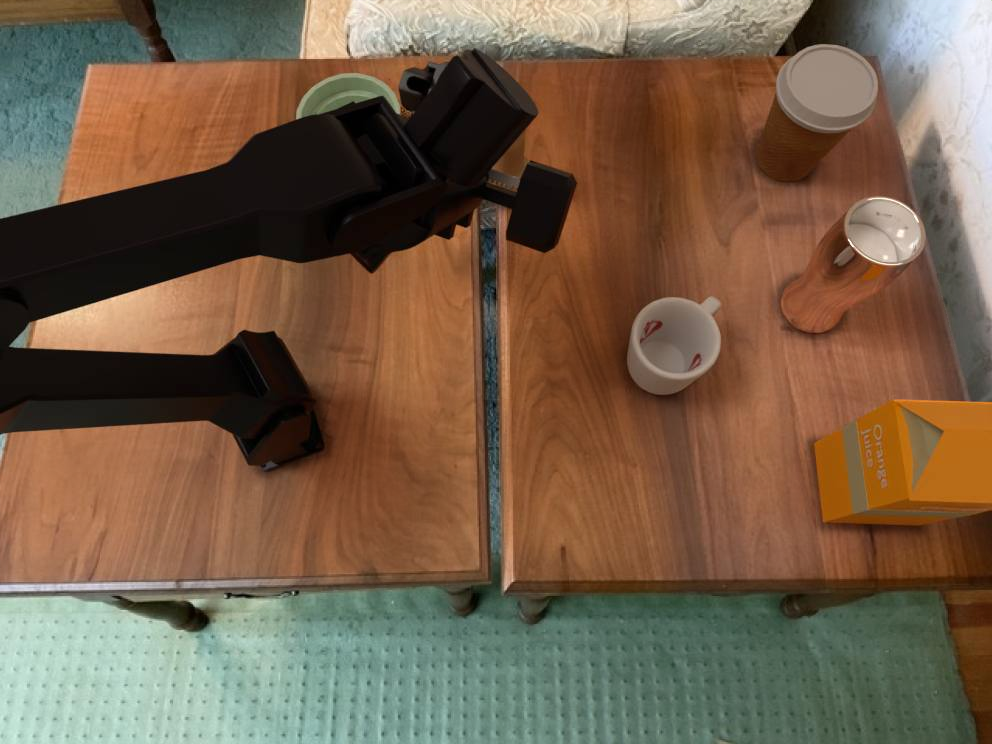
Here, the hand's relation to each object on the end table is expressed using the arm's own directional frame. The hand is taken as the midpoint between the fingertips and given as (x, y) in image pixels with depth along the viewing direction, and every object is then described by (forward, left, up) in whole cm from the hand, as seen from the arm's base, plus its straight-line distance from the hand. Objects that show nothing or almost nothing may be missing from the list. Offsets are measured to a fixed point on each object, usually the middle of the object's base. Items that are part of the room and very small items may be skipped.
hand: (486, 165), depth 63 cm
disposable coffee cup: (-2, -34, -12) cm, 36 cm away
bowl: (+17, +10, -12) cm, 23 cm away
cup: (-19, -12, -12) cm, 26 cm away
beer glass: (-19, -28, -12) cm, 36 cm away
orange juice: (-37, -24, -12) cm, 46 cm away
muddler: (+5, -4, -12) cm, 14 cm away
